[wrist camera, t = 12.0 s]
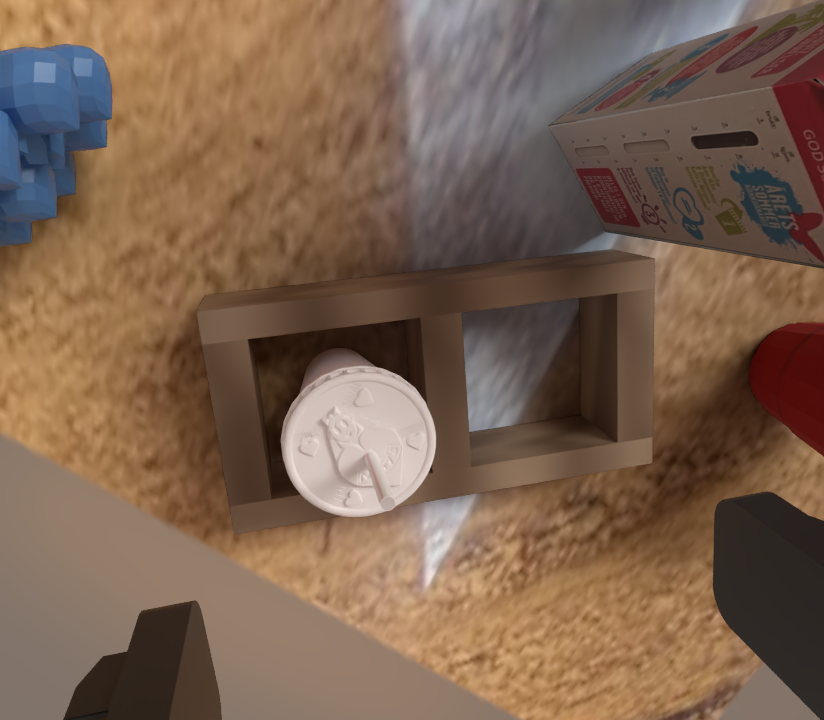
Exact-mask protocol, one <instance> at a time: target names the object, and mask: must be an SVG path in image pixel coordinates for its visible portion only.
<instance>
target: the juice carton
mask: <svg viewBox="0 0 824 720" xmlns="http://www.w3.org/2000/svg"><path fill="white" fill-rule="evenodd" d="M549 127H550V129H551V131H552V133H553V135H554V137H555V138H556V140H557V142H558V144H559V146H560V148H561V149H562V151H563V153H564V155H565V157H566V159H567V160H568V162H569V164H570V166H571V168H572V170H573V172H574V173H575V175H576V177H577V179H578V181H579V183H580V184H581V186H582V188H583V190H584V192H585V194H586V195H587V197H588V199H589V201H590V203H591V205H592V207H593V208H594V210H595V212H596V214H597V216H598V218H599V219H600V221H601V223H602V225H603V227H604V229H605V230H606V232H607V231H608V232H609V233H615V234H621V235H627V236H633V237H639V238H645V239H651V240H657V241H663V242H669V243H675V244H681V245H686V246H692V247H698V248H704V249H710V250H716V251H722V252H728V253H734V254H740V255H746V256H752V257H758V258H764V259H770V260H776V261H782V262H788V263H794V264H800V265H806V266H811V267H817V268H823V269H824V0H818V1H814V2H811V3H808V4H805V5H802V6H799V7H795V8H792V9H789V10H786V11H783V12H780V13H776V14H773V15H770V16H767V17H764V18H761V19H757V20H754V21H751V22H748V23H745V24H742V25H738V26H735V27H732V28H729V29H726V30H723V31H719V32H716V33H713V34H710V35H707V36H704V37H700V38H697V39H694V40H691V41H688V42H685V43H681V44H678V45H675V46H672V47H669V48H666V49H663V50H659V51H656V52H654V53H651V54H650V55H648V56H647V57H645V58H644V59H643V60H641V61H640V62H638V63H637V64H636V65H634V66H633V67H631V68H630V69H628V70H627V71H626V72H624V73H623V74H621V75H620V76H618V77H617V78H616V79H614V80H613V81H611V82H610V83H609V84H607V85H606V86H604V87H603V88H601V89H600V90H599V91H597V92H596V93H594V94H593V95H591V96H590V97H589V98H587V99H586V100H584V101H583V102H581V103H580V104H579V105H577V106H576V107H574V108H573V109H572V110H570V111H569V112H567V113H566V114H564V115H563V116H562V117H560V118H559V119H557V120H556V121H554V122H553V123H552V124H550V125H549Z"/></svg>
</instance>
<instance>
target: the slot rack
mask: <svg viewBox="0 0 824 720" xmlns="http://www.w3.org/2000/svg"><path fill="white" fill-rule="evenodd" d="M654 290H655V258H650V257H645V256H641V255H636V254H631V253H627V252H622V251H618V250H613V249H610V250H602V251H593V252H584V253H575V254H566V255H557V256H548V257H540V258H531V259H522V260H513V261H504V262H495V263H486V264H478V265H469V266H460V267H451V268H442V269H433V270H425V271H416V272H407V273H398V274H389V275H380V276H371V277H363V278H354V279H345V280H336V281H327V282H318V283H309V284H301V285H292V286H283V287H274V288H265V289H256V290H247V291H239V292H230V293H221V294H212V295H205V296H204V298H203V300H202V302H201V304H200V306H199V308H198V310H197V312H196V313H197V319H198V325H199V331H200V337H201V343H202V349H203V354H204V360H205V366H206V372H207V378H208V384H209V390H210V396H211V401H212V407H213V413H214V419H215V425H216V431H217V437H218V442H219V448H220V454H221V460H222V466H223V472H224V478H225V484H226V489H227V495H228V501H229V507H230V513H231V519H232V525H233V530H234V534H240V533H246V532H252V531H258V530H264V529H270V528H275V527H281V526H287V525H293V524H299V523H305V522H311V521H316V520H322V519H328V518H334V517H340V515H335V514H332V513H329V512H326V511H324V510H322V509H320V508H318V507H316V506H314V505H313V504H311V503H310V502H309V501H308V500H306V499H305V498H304V497H303V496H302V495H301V494H300V493H299V492H298V490H297V489H296V488H295V486H294V485H293V483H292V482H291V480H290V478H289V476H288V473H287V470H286V467H285V463H284V461H281V462H275V463H271V458H270V452H269V445H268V438H267V431H266V425H265V418H264V411H263V405H262V398H261V391H260V385H259V378H258V371H257V365H256V358H255V351H254V345H253V338H261V337H269V336H277V335H285V334H293V333H302V332H310V331H318V330H326V329H334V328H342V327H350V326H358V325H366V324H374V323H382V322H390V321H398V320H404V322H405V334H406V345H407V357H408V368H409V379H410V384H411V385H412V386H413V387H415V388H416V390H417V391H418V393H419V394H420V395H421V397H422V398H423V400H424V401H425V402H426V405H427V408H428V410H429V412H430V414H431V416H432V419H433V422H434V426H435V431H436V449H435V455H434V459H433V462H432V465H431V468H430V470H429V472H428V474H427V476H426V478H425V479H424V481H423V482H422V484H421V485H420V486H419V487H418V489H417V490H416V491H415V492H414V493H413V494H412V495H411V496H410V497H408V498H407V499H406V500H405V501H403V502H402V503H400V504H399V505H397V506H395V507H398V506H404V505H410V504H416V503H422V502H428V501H434V500H439V499H445V498H451V497H457V496H463V495H469V494H475V493H480V492H486V491H492V490H498V489H504V488H510V487H516V486H521V485H527V484H533V483H539V482H545V481H551V480H557V479H562V478H568V477H574V476H580V475H586V474H592V473H598V472H603V471H609V470H615V469H621V468H627V467H633V466H639V465H644V464H650V463H652V446H653V368H654ZM574 298H579V324H580V382H581V415H578V416H571V417H565V418H558V419H552V420H545V421H539V422H533V423H526V424H520V425H513V426H507V427H500V428H494V429H487V430H481V431H474V432H469V423H468V408H467V392H466V377H465V361H464V345H463V330H462V314H461V313H462V312H470V311H478V310H486V309H494V308H502V307H510V306H518V305H526V304H534V303H542V302H550V301H558V300H566V299H574Z"/></svg>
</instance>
